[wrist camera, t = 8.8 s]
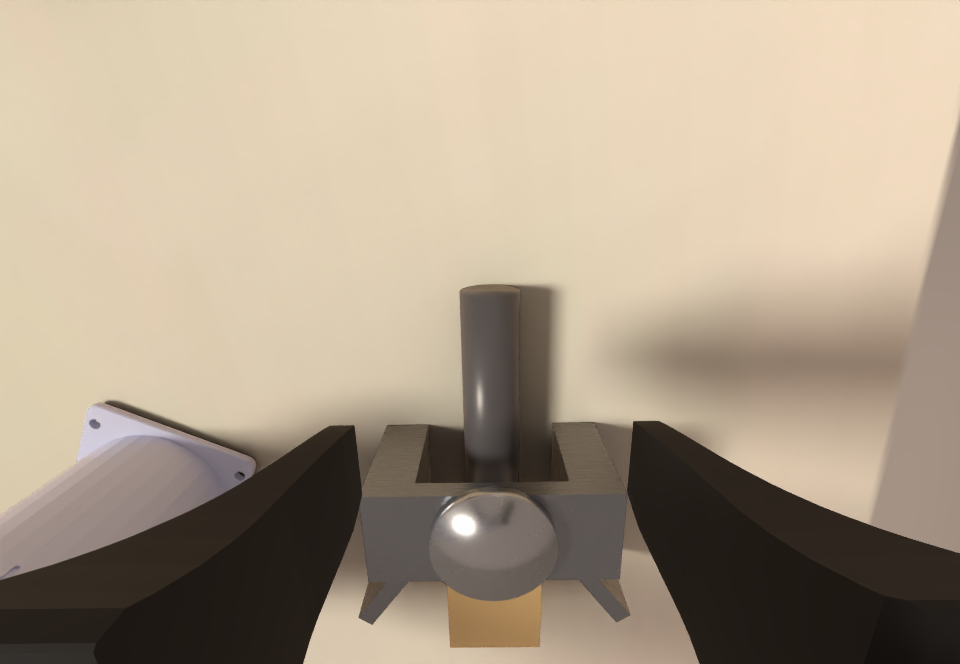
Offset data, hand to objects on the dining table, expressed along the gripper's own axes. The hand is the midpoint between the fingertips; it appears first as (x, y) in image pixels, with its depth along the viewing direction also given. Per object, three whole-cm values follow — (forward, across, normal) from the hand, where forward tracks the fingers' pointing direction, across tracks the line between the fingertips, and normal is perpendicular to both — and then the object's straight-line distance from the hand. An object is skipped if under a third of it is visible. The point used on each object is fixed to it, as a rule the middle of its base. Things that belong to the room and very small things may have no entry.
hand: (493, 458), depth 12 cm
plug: (+10, 0, +6) cm, 12 cm away
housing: (+10, 0, +8) cm, 13 cm away
